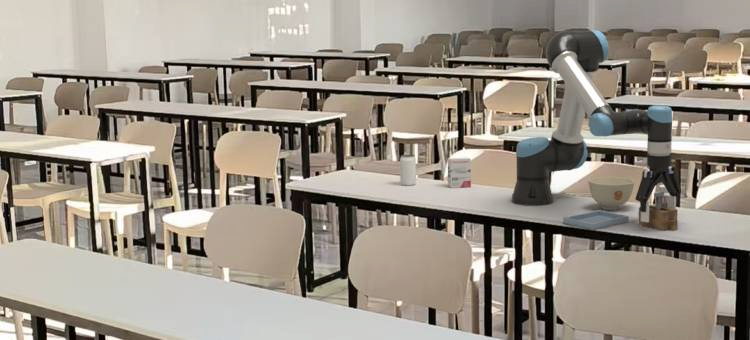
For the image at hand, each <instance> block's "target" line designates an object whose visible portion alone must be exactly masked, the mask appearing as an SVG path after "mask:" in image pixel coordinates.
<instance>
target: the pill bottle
mask: <svg viewBox="0 0 750 340" xmlns="http://www.w3.org/2000/svg"><path fill="white" fill-rule="evenodd" d="M658 190H659V192H664V196H661V207H666V208H668V196H669V195H670V194H669V192H668V191H667V189H666V187H665V186H664V184H660V185H659V187H658ZM670 196H671V195H670Z"/></svg>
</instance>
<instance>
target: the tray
mask: <svg viewBox="0 0 750 340" xmlns="http://www.w3.org/2000/svg"><path fill="white" fill-rule="evenodd" d="M562 222H563V223H562V224H564V225H566V226H567V225H568V226H571V227H572V226H573V227H577V228H580V229H585V230H590V231H595V230H599V229H603V228H608V227H613V226H616V225H621V224H626V223H629V222H630V215H625V214H621V213H615V212H611V211H605V210H601V209H600V210H599V209H598V210H593V211H588V212H585V213H579V214H574V215H570V216H566V217H565V216H564V217H563V221H562Z"/></svg>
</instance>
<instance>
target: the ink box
mask: <svg viewBox="0 0 750 340" xmlns="http://www.w3.org/2000/svg"><path fill="white" fill-rule="evenodd" d="M471 160H472V159H471V158H470V157H468V156H464V157H463V156H461V157H447V186H448V188H450V189H461V188H471V186H472V181H471V179H472V174H471V173H472V170H471V168H472V166H471V165H472V164H471Z"/></svg>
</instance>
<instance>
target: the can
mask: <svg viewBox="0 0 750 340" xmlns="http://www.w3.org/2000/svg"><path fill="white" fill-rule="evenodd" d="M416 162H417V161H416V156H415V154H402V155H400V158H399V180H400V181H399V182H400V183H399V184H400V185H401V186H404V187H409V186H411V187H413V186H415V185H416V184H417V165H416V164H417V163H416Z"/></svg>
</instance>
